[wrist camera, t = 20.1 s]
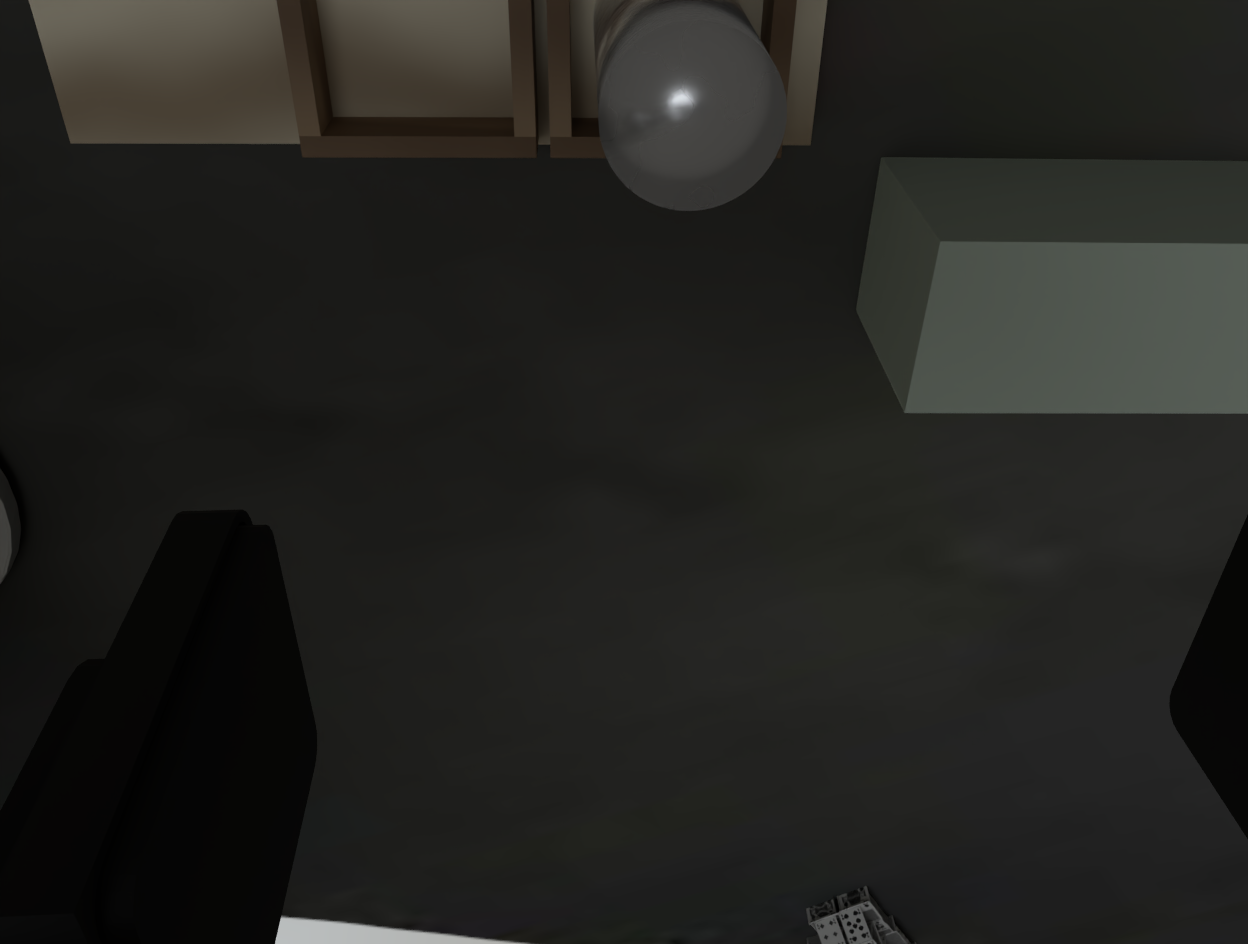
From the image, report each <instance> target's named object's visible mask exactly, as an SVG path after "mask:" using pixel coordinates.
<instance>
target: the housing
mask: <svg viewBox="0 0 1248 944" xmlns="http://www.w3.org/2000/svg"><path fill="white" fill-rule="evenodd" d="M856 312H857V314H858V316H859V318H860V320H861V322H862V324H863V326H864V329H865V331H866V333H867V335H868V337H869V339H870V341H871V343H872V345H873V348H874V350H875V352H876V354H877V356H878V358H879V360H880V362H881V364H882V367H883V369H884V371H885V373H886V375H887V377H888V379H889V381H890V384H891V386H892V388H893V390H894V392H895V394H896V396H897V398H898V400H899V403H900V405H901V407H902V409H903V411H904V413H1248V161H1185V160H1096V159H1008V158H919V157H881V161H880V167H879V173H878V179H877V185H876V192H875V198H874V204H873V210H872V216H871V222H870V228H869V234H868V240H867V246H866V252H865V258H864V264H863V270H862V276H861V282H860V288H859V294H858V300H857V306H856Z"/></svg>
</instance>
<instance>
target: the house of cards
mask: <svg viewBox="0 0 1248 944" xmlns="http://www.w3.org/2000/svg"><path fill="white" fill-rule="evenodd" d="M836 896H837V895H836ZM832 897H833V896H832ZM837 900H838V902H837V901H836V900H835V899H834V897H833V899H832V900H829V901H826V902H824V903H821V904H818V905H815V906H813V907H810V908H807V909H806V912H807V917H808V922H809V925H812V927H813V928H814V929H815V930H816V931H817V932H818V934H817V935H815V936H812V937H809V938H806V939H807V944H916V942H913V943H911V942H910V941H909V940H908V939H907V938H906V936H905V935H904V934H903V933H902V932H901V930H900V929H899V928H898V927H897V926H896V925H895V923H894V919H893V915H891V916H888V917H887V916H886V914H885V913H884V912H883V911H882V910H881V908H880V907H879V906H878V905H877V903H876V901H875V900H874V899H873V898H872V897H871V895H870V894H869V892H868V888H867V886H865V887H863V888H860V889H857V890H854V891H851V892H849V893H846V894H843V895H840V896H837Z"/></svg>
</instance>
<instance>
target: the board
mask: <svg viewBox="0 0 1248 944" xmlns="http://www.w3.org/2000/svg"><path fill="white" fill-rule="evenodd" d="M595 2H596V0H29V3H30V6H31V10H32V13H33V17H34V20H35V23H36V27H37V30H38V34H39V37H40V40H41V44H42V47H43V51H44V54H45V58H46V61H47V64H48V68H49V71H50V75H51V78H52V81H53V85H54V88H55V92H56V95H57V99H58V102H59V105H60V109H61V112H62V116H63V119H64V122H65V126H66V129H67V133H68V136H69V140H70V143H140V144H300V145H301V151H302V157H351V158H537V149H538V145H550V152H551V158H606V156H605V153H604V150H603V147H602V144H601V139H600V134H599V122H598V103H597V85H596V66H595V47H594V28H593V16H594V8H595ZM738 2H739V4H740V6H741V7H742V9H743V11H744V13H745V14H746V16H747V18H748V19H749V21H750V23H751V25H752V26H753V28H754V30H755V31H756V33H757V35H758V37H759V38H760V40H761V42H762V43H763V45H764V47H765V49H766V50H767V52H768V54H769V55H770V57H771V59H772V61H773V62H774V64H775V66H776V68H777V70H778V72H779V74H780V77H781V79H782V82H783V85H784V90H785V94H786V103H787V121H786V127H785V133H784V136H783V140H782V143H781V146H780V148H779V150H778V153H777V155H776V157H775V158H781V153H782V145H811V137H812V128H813V120H814V111H815V102H816V94H817V85H818V77H819V68H820V60H821V51H822V42H823V34H824V25H825V17H826V8H827V0H738Z"/></svg>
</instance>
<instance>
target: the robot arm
mask: <svg viewBox="0 0 1248 944" xmlns="http://www.w3.org/2000/svg"><path fill="white" fill-rule="evenodd" d="M20 534H21V524H20V518H19V512H18V505H17V502H16V500H15V497H14V495H13V492H12V490H11V487H10V485H9V482H8V480H7V478H6V476H5V475H4V473H3V472H2V470H1V469H0V584H1V583H2V581H3V580H4V578H5V577H6V575H7V574H8V573H9V571H10V570H11V567H12V565H13V563H14V560H15V558H16V556H17V553H18V551H19V543H20ZM1170 713H1171V717H1172V720H1173V724H1174V725H1175V727H1176V729H1177V731H1178V733H1179V734H1180V736H1181V737H1182V739H1183V740H1184V742H1185V743H1186V745H1187V747H1188V748H1189V750H1190V751H1191V753H1192V754H1193V756H1194V757H1195V759H1196V760H1197V762H1198V763H1199V765H1200V766H1201V768H1202V770H1203V771H1204V773H1205V774H1206V776H1207V777H1208V779H1209V780H1210V782H1211V783H1212V785H1213V786H1214V788H1215V789H1216V791H1217V793H1218V794H1219V796H1220V797H1221V799H1222V800H1223V802H1224V803H1225V805H1226V806H1227V808H1228V809H1229V811H1230V812H1231V814H1232V816H1233V817H1234V819H1235V820H1236V822H1237V823H1238V825H1239V826H1240V828H1241V829H1242V831H1243V832H1244V834H1245V835H1246V837H1247V839H1248V515H1247V518H1246V520H1245V522H1244V525H1243V527H1242V529H1241V531H1240V534H1239V536H1238V538H1237V541H1236V543H1235V545H1234V548H1233V550H1232V552H1231V555H1230V557H1229V559H1228V561H1227V564H1226V566H1225V568H1224V571H1223V573H1222V575H1221V578H1220V580H1219V582H1218V585H1217V587H1216V589H1215V591H1214V594H1213V596H1212V598H1211V601H1210V603H1209V605H1208V608H1207V610H1206V612H1205V615H1204V617H1203V619H1202V621H1201V624H1200V626H1199V628H1198V631H1197V633H1196V635H1195V638H1194V640H1193V642H1192V645H1191V647H1190V649H1189V651H1188V654H1187V656H1186V658H1185V661H1184V663H1183V665H1182V668H1181V670H1180V672H1179V675H1178V677H1177V679H1176V681H1175V684H1174V686H1173V688H1172V691H1171V695H1170ZM316 754H317V731H316V724H315V720H314V715H313V711H312V706H311V702H310V697H309V693H308V688H307V684H306V679H305V675H304V670H303V666H302V661H301V657H300V652H299V648H298V643H297V639H296V634H295V630H294V625H293V621H292V616H291V612H290V607H289V603H288V598H287V594H286V589H285V585H284V580H283V576H282V571H281V567H280V562H279V558H278V553H277V549H276V544H275V540H274V536H273V533H272V530H271V529H270V527H269V526H267V525H252V521H251V518H250V517H249V515H248V513H247V512H246V511H244V510H214V511H182V512H180V513H178V514H176V516H175V517H174V519H173V520H172V522H171V524H170V526H169V528H168V530H167V532H166V534H165V536H164V539H163V541H162V543H161V545H160V547H159V549H158V551H157V553H156V555H155V557H154V559H153V561H152V563H151V565H150V567H149V569H148V571H147V574H146V576H145V578H144V580H143V582H142V584H141V586H140V588H139V590H138V592H137V594H136V596H135V598H134V600H133V602H132V604H131V606H130V609H129V611H128V613H127V615H126V617H125V619H124V621H123V623H122V625H121V627H120V629H119V631H118V633H117V635H116V637H115V639H114V641H113V644H112V646H111V648H110V650H109V652H108V654H107V656H106V658H105V659H88V660H86V661H85V662H83V663H82V664H80V665H79V666H77V668H76V669H75V671H74V672H73V674H72V675H71V677H70V678H69V679H68V681H67V683H66V685H65V687H64V689H63V691H62V693H61V695H60V697H59V698H58V700H57V702H56V704H55V706H54V708H53V710H52V712H51V714H50V716H49V718H48V720H47V722H46V724H45V726H44V728H43V730H42V731H41V733H40V735H39V737H38V739H37V741H36V743H35V745H34V747H33V749H32V751H31V753H30V755H29V757H28V759H27V761H26V763H25V765H24V766H23V768H22V770H21V772H20V774H19V776H18V778H17V780H16V782H15V784H14V786H13V788H12V790H11V792H10V794H9V796H8V798H7V799H6V801H5V803H4V805H3V807H2V809H1V811H0V944H275V940H276V936H277V932H278V927H279V922H280V918H281V914H282V909H283V905H284V901H285V896H286V892H287V887H288V883H289V878H290V874H291V870H292V865H293V861H294V856H295V852H296V848H297V843H298V839H299V834H300V830H301V825H302V821H303V817H304V812H305V808H306V803H307V799H308V794H309V790H310V786H311V781H312V777H313V772H314V768H315V762H316Z"/></svg>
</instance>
